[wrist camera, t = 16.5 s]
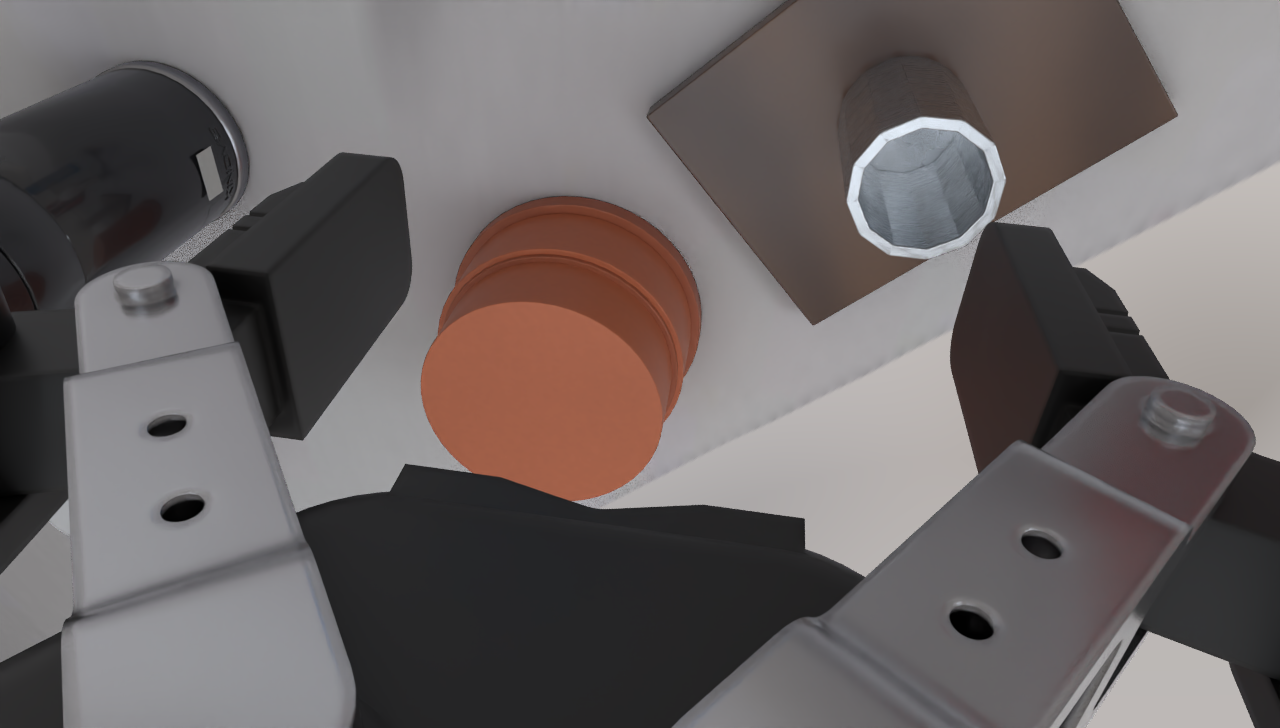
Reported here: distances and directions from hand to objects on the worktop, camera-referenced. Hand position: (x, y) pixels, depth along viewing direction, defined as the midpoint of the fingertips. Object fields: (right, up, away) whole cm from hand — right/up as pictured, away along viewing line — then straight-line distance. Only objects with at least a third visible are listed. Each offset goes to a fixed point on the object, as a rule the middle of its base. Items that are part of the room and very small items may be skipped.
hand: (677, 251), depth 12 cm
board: (+12, +11, +32) cm, 36 cm away
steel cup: (+12, +10, +31) cm, 35 cm away
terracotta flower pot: (-4, +2, +41) cm, 41 cm away
